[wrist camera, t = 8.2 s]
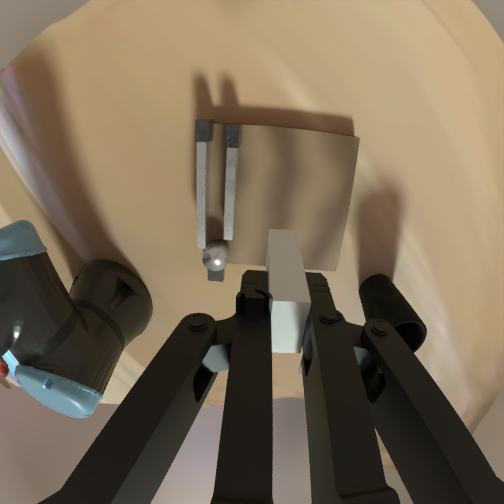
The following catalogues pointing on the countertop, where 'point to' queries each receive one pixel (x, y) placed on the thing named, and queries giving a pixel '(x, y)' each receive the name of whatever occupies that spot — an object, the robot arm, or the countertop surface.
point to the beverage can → (3, 369)
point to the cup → (392, 309)
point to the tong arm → (231, 177)
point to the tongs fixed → (207, 204)
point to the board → (285, 191)
